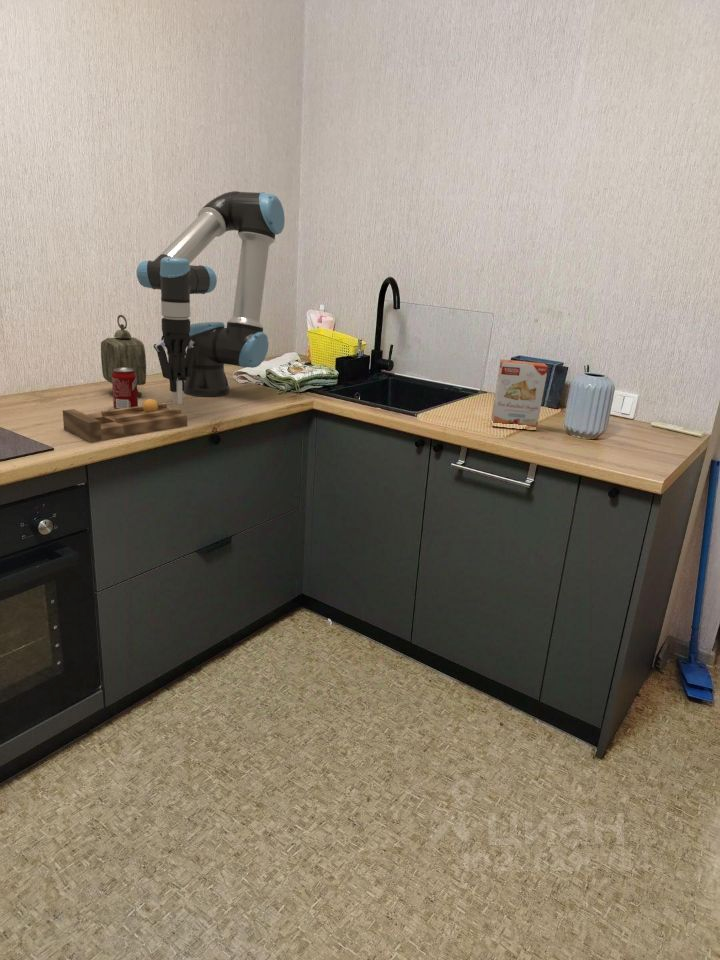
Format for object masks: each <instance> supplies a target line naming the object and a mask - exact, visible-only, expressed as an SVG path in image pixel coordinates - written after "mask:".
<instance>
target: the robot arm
mask: <svg viewBox="0 0 720 960" xmlns="http://www.w3.org/2000/svg"><path fill="white" fill-rule="evenodd" d="M284 228H285V210H284V207H283V205H282V202H281V200H280V198H278V196H277V195H275V194H273V193H265V192H254V191H253V192H250V191H249V192H247V191H237V190H236V191H235V190H233V191H228V192H225V193H222V194H221V195H218V196H217V197H215V198H213V199H212V200H209V201H208V202H207V203H206V204H205V205H204V206H203V207H202V208H201V209H200V210H199V211H198V214H197V217H196V218H195V220H194V221H193V222H191V223H190V225H189V226H187V227H186V228H185V229H184V231H182V233H181V234H180V235H178V236H177V237H176V238H175V239H174V240H173V241H172V242H171V243H170V244H169V245H168V246H167V247H166V248H165V249H164V250H163V251H162V252H161V253H160V254H159V255H158V256H157V257H156V258H155V259H154V260H149V259H148V260H143V261H141V262H139V264H138V266H137V267H136V278H137V280H138V283H139V284H140V285H141V286H142V287H144V288H147V289H152V290H160V294H161V295H160V296H161V297H160V300H161V301H160V302H161V303H160V304H161V306H160V307H161V309H160V310H161V316H162V318H161V332H162V336H161V339H160V341H159V342H158V343H154V344H153V348H154V350H155V351H156V354H157V357H158V361H159V366H160V369H161V374H162V378H165V379H167V380H169V391H170V392H172V397H171V399H172V403H175V404H177V405H179V404H181V405H182V404H183V392H184V393H185V394H187V395H191V396H196V397H197V396H198V397H220V396H221V397H222V396H226V395H228V394H229V392H230V385H229V383H228V379H227V376H226V372H225V365H229V366H236V367H241V368H244V369H245V368H250V369H252V368H258V367H259V366H260V365H261V364H262V363H263V362H264V360H265V358H266V357H267V353H268V349H269V340H268V339H269V337H268V336H267V334H266V333H264V326H263V325H262V323H261V322H260V320H261V312H262V304H263V296H264V289H265V288H264V287H265V280H266V274H267V265H268V259H269V258H268V256H269V249H270V246H271V245H272V244H273V243H274V242H275V241H276V235H279V234H281V233H282V232H283V230H284ZM231 231H237V232H238V233H237V236H238V237H239V238H240V239H241V245H240V246H241V248H240V256H239V262H238V271H237V280H236V287H235V295H234V304H233V311H232V317H231V318H230V319H229V320H228V321H226V326H225V324H224V322H223V321H222V322H221V321H213V322H212V321H210V322H209V321H208V322H197V323H192V324H191V320H190V319H189V318H190V317H191V298H190V297H191V295H200V294H202V295H205V294H208V293H212V292H213V291H214V290H215V288H216V287H217V282H218V279H217V274H216V272H215V271H214V270H213V268H211V267H210V266H207V265H193V264H192V262H193V261H194V260H195V259H196V258H197V257H198V256H199V255H200V254H201V253H202V252H203V251H204V250H205V248H207V247H208V245H209V244H210V243H211V242H212V241H213V240H214V239H215V238H216V237H222V236H223V235H224V234H225V233H227V232H231Z"/></svg>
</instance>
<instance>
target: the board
mask: <svg viewBox="0 0 720 960" xmlns="http://www.w3.org/2000/svg"><path fill="white" fill-rule="evenodd" d="M157 404H158V409H157V411H156V412H149V413H147V412H145V411H144V409H143V405H138V406H137V407H130V408H123V409H111V410H110V409H108V410H101V411H100V412H98V413H90V414H86V413H84V412H81V411H79V410H77V409H75V408H72V409H63V410H62V420H63V430H65V431H67V432H69V433H71V434H73V435H74V436H77V437H79V438H80V439H83V440H84V441H86V442H88V443H95V442H100V441H105V440H106V441H107V440H111V439H112V440H113V439H117V438H123V437H124V438H125V437H130V435H131V436H135V435H136V434H137V435H142V433H143V434H148V433H153V432H159V431H165V430H171V429H177V428H184V427H188V415H187V414H184V413H182V408H180V407H178V408H177V407H176V408H172V409H171V408H168V403H166V402H161V403H157Z"/></svg>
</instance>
